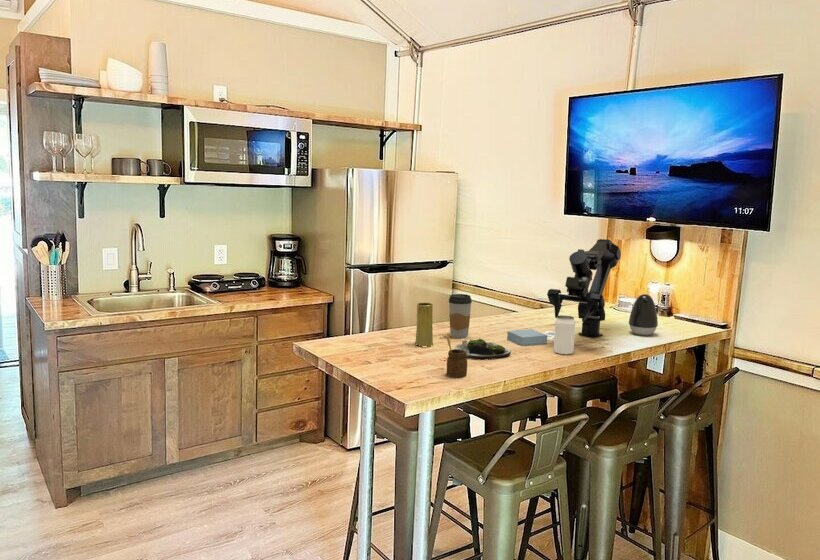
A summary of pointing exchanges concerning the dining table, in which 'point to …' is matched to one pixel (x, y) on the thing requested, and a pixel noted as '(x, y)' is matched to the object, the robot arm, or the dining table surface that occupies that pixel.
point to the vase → (424, 324)
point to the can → (564, 335)
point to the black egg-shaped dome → (643, 316)
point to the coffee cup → (459, 315)
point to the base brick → (527, 337)
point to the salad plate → (483, 350)
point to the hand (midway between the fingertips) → (569, 319)
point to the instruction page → (549, 335)
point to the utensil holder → (456, 361)
